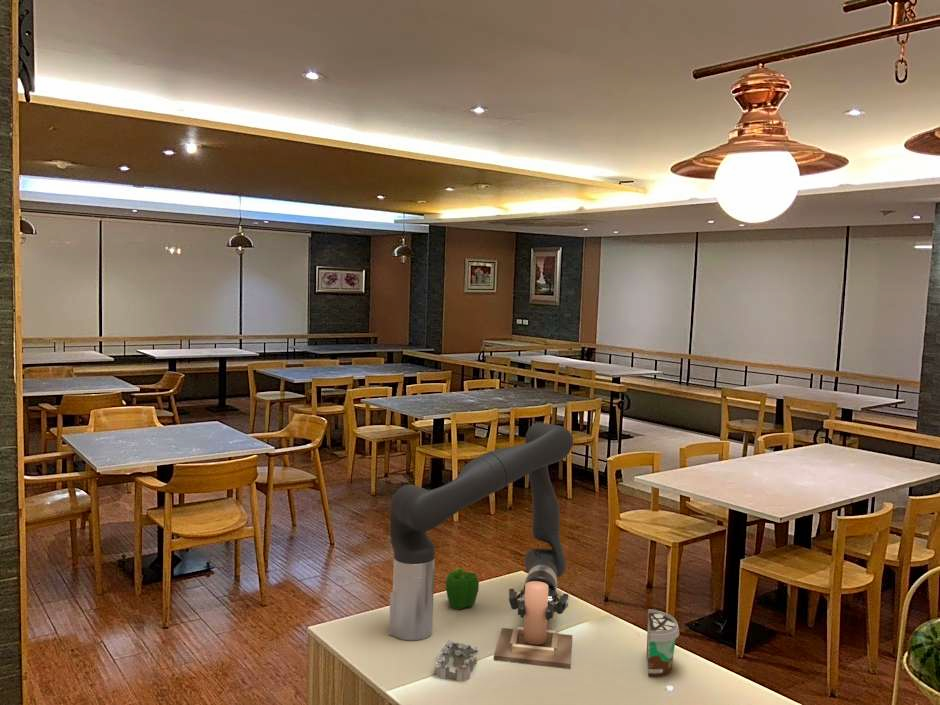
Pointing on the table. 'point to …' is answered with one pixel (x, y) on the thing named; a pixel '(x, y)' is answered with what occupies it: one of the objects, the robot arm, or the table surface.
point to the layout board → (534, 649)
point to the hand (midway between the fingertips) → (535, 614)
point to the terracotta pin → (535, 612)
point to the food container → (660, 643)
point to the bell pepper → (461, 588)
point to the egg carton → (456, 660)
